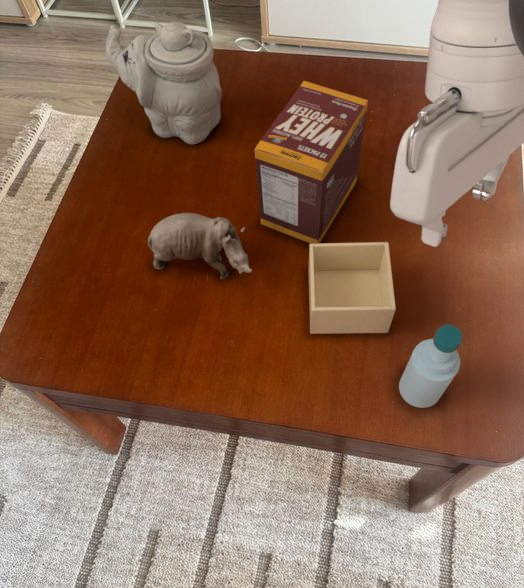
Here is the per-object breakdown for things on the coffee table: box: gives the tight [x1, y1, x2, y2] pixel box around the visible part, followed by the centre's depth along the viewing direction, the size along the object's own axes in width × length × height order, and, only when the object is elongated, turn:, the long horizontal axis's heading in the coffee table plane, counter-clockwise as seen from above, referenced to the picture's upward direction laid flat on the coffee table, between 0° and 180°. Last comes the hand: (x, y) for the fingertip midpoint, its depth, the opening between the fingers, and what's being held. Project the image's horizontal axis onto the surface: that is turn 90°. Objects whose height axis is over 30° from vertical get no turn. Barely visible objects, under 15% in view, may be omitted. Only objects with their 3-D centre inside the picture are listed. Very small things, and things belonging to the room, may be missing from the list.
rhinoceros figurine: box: [147, 212, 253, 280], centre depth 78 cm, size 8×14×15 cm
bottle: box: [398, 324, 464, 409], centre depth 64 cm, size 6×6×15 cm
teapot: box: [105, 21, 223, 145], centre depth 88 cm, size 16×15×19 cm
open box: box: [308, 241, 397, 335], centre depth 74 cm, size 11×11×6 cm
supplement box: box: [254, 80, 369, 244], centre depth 79 cm, size 10×15×16 cm
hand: (459, 218), depth 52 cm, fingers open, 8 cm apart
